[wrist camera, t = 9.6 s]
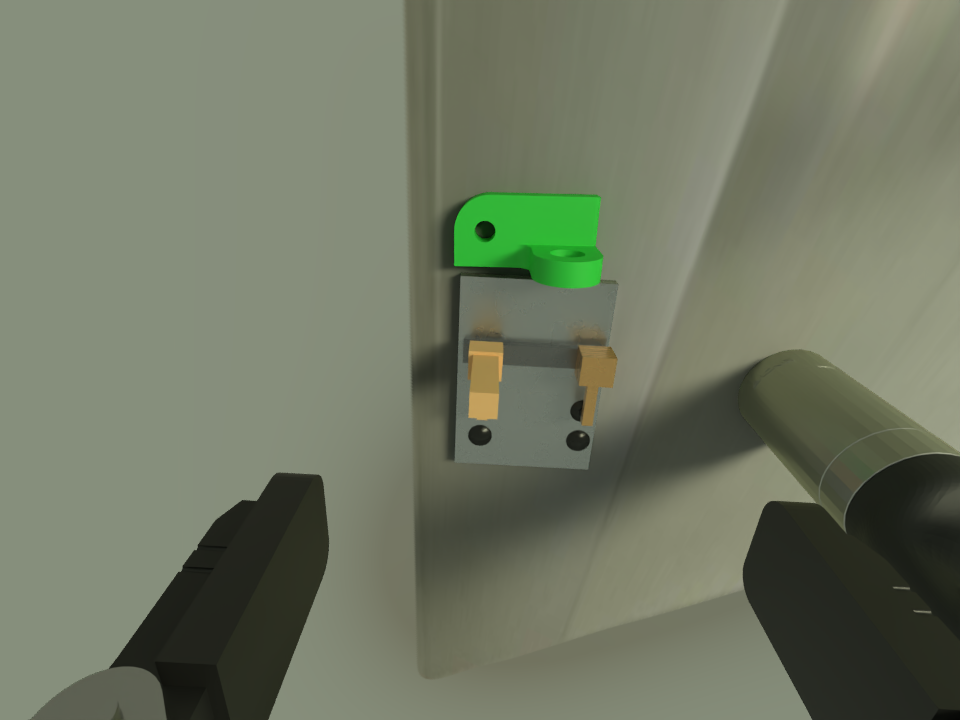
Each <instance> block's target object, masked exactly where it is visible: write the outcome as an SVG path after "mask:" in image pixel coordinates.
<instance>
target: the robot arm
mask: <svg viewBox="0 0 960 720" xmlns="http://www.w3.org/2000/svg"><path fill="white" fill-rule="evenodd" d="M738 405H739V410H740V412H741V414H742V416H743V418H744V419H745V420H746V421H747V422H748V423H749V425H750V426H751V427H752V428H753V429H754V430H755V432H756V433H757V434H758V435H759V436H760V437H761V439H762V440H763V441H764V442H765V444H766V445H767V446H768V447H769V448H770V449H771V451H772V452H773V453H774V454H775V455H776V456H777V458H778V459H779V460H780V461H781V462H782V463H783V465H784V466H785V467H786V468H787V469H788V470H789V471H790V473H791V474H792V475H793V476H794V477H795V478H796V480H797V481H798V482H799V483H800V484H801V485H802V487H803V488H804V489H805V490H806V491H807V492H808V494H809V495H810V496H811V497H812V498H813V499H814V501H815V502H816V503H817V504H816V503H803V502H784V501H770V502H768V503H767V504H766V505H765V507H764V509H763V511H762V514H761V516H760V519H759V522H758V525H757V528H756V531H755V534H754V536H753V539H752V542H751V545H750V548H749V551H748V554H747V557H746V559H745V562H744V567H743V583H744V589H745V592H746V595H747V598H748V600H749V603H750V604H751V606H752V608H753V610H754V612H755V614H756V615H757V617H758V619H759V621H760V623H761V625H762V627H763V628H764V630H765V632H766V634H767V636H768V638H769V640H770V642H771V643H772V645H773V647H774V649H775V651H776V653H777V655H778V657H779V658H780V660H781V662H782V664H783V665H784V667H785V670H786V671H787V673H788V675H789V677H790V679H791V681H792V683H793V684H794V686H795V688H796V690H797V691H798V694H799V695H800V697H801V699H802V701H803V703H804V705H805V706H806V708H807V710H808V712H809V714H810V716H811V718H812V720H960V452H958V451H957V450H956V449H954V448H953V447H951V446H950V445H948V444H947V443H945V442H944V441H943V440H941V439H940V438H938V437H936V436H935V435H934V434H932V433H931V432H929V431H928V430H926V429H925V428H924V427H922V426H921V425H919V424H918V423H916V422H915V421H913V420H912V419H911V418H909V417H908V416H906V415H905V414H903V413H902V412H901V411H899V410H898V409H896V408H895V407H893V406H892V405H890V404H889V403H888V402H886V401H885V400H883V399H882V398H880V397H879V396H878V395H876V394H875V393H873V392H872V391H870V390H869V389H867V388H866V387H865V386H863V385H862V384H860V383H859V382H857V381H856V380H855V379H853V378H852V377H850V376H849V375H848V374H846V373H845V372H843V371H842V370H840V369H839V368H837V367H836V366H835V365H833V364H832V363H830V362H829V361H827V360H826V359H824V358H823V357H822V356H820V355H818V354H816V353H814V352H811V351H806V350H787V351H782V352H779V353H776V354H774V355H771V356H769V357H767V358H766V359H764V360H762V361H761V362H759V363H758V364H757V365H756V366H755V367H753V368H752V369H751V370H750V372H749V373H748V374H747V375H746V377H745V378H744V380H743V382H742V384H741V386H740V390H739V393H738ZM328 551H329V536H328V526H327V516H326V506H325V496H324V486H323V481H322V478H321V476H320V475H313V474H295V473H276V474H275V475H274V476H273V477H272V478H271V480H270V482H269V483H268V485H267V486H266V488H265V489H264V491H263V492H262V494H261V496H260V497H259V499H258V500H257V501H246V500H242V501H241V502H239V503H238V504H236V505H235V506H234V507H233V508H231V509H230V510H228V511H227V512H226V513H225V514H223V515H222V516H221V517H220V518H218V519H217V520H216V521H215V522H214V523H213V524H212V526H211V527H210V529H209V530H208V532H207V533H206V534H205V536H204V537H203V539H202V540H201V541H200V543H199V544H198V548H197V550H194V551H193V553H192V554H191V555H190V557H189V558H188V560H187V561H186V562H185V564H184V565H183V569H182V571H181V572H178V573H177V575H176V576H175V578H174V579H173V581H172V582H171V583H170V585H169V586H168V587H167V589H166V590H165V592H164V593H163V594H162V596H161V597H160V599H159V600H158V601H157V603H156V604H155V606H154V607H153V608H152V610H151V611H150V613H149V614H148V615H147V617H146V619H145V620H144V621H143V623H142V624H141V625H140V627H139V628H138V630H137V631H136V632H135V634H134V635H133V637H132V638H131V639H130V641H129V642H128V644H127V645H126V646H125V648H124V649H123V650H122V652H121V653H120V655H119V656H118V657H117V659H116V660H115V661H114V663H113V664H112V665H111V666H110V668H109V669H107V670H103V671H100V672H97V673H94V674H92V675H89V676H87V677H85V678H83V679H81V680H79V681H77V682H75V683H74V684H72V685H71V686H69V687H67V688H66V689H64V690H63V691H61V692H60V693H59V694H57V695H56V696H55V697H53V698H52V699H51V700H50V701H49V702H48V703H46V704H45V705H44V706H43V707H42V708H41V709H40V710H39V711H38V712H37V713H36V714H35V715H34V716H33V717H32V718H31V719H30V720H268V719H269V716H270V714H271V711H272V708H273V706H274V703H275V701H276V698H277V695H278V693H279V690H280V688H281V685H282V682H283V680H284V677H285V674H286V672H287V669H288V667H289V664H290V661H291V658H292V656H293V654H294V651H295V649H296V646H297V643H298V641H299V638H300V635H301V633H302V630H303V628H304V625H305V622H306V620H307V617H308V615H309V612H310V609H311V607H312V604H313V602H314V599H315V596H316V594H317V591H318V589H319V586H320V583H321V581H322V578H323V575H324V572H325V569H326V564H327V559H328Z"/></svg>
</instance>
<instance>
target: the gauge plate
mask: <svg viewBox="0 0 960 720" xmlns="http://www.w3.org/2000/svg"><path fill="white" fill-rule="evenodd" d="M617 290H618V283H617V282H616V281H613V280H600V283H599V284H597V285H595V286H592V287H587V288H558V287H552V286H547V285H543V284H540V283H537V282H535V281H534V280H533V279H532V278H531V276H518V275H499V274H480V273H461V278H460V310H459V341H458V373H457V404H456V436H455V462H458V463H476V464H494V465H513V466H531V467H549V468H568V469H586V470H588V467H589V461H590V455H591V449H592V442H593V436H594V430H595V424H596V418H597V412H598V406H599V400H600V394H601V387H608V388H613V382H614V376H615V371H616V365H617V357H616V355H615V353H614V351H613V350H612V348H611V347H608V345H609V339H610V332H611V326H612V320H613V314H614V308H615V302H616V296H617ZM470 341H487V342H503V365H502V378H501V382H499V403H498V417H497V419H487V420H477V418H468V417H469V394H470V383H471V380H468V357H469V345H470Z"/></svg>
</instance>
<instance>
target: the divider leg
mask: <svg viewBox="0 0 960 720" xmlns="http://www.w3.org/2000/svg"><path fill="white" fill-rule="evenodd" d="M502 365H503V342H487V341H470V345H469V357H468V380H471V383H470V394H469V417H468V418H477V420H487V419H497V417H498V403H499V382H501V378H502Z"/></svg>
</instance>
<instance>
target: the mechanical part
mask: <svg viewBox="0 0 960 720" xmlns="http://www.w3.org/2000/svg"><path fill="white" fill-rule="evenodd" d="M600 200H601V197H600V196H598V195H584V194H541V193H498V192H487V193H481V194H478V195H476V196H474V197H472V198H471V199H469V200H468V201H467V202H466V203H465V204H464V205H463V206H462V208H461V210H460V211H459V213H458V216H457V218H456V222H455V227H454V266H473V267H512V268H524V269H527V270H529V271H530V274H531V278H532V279H533V280H534V281H535V282H537V283H540V284H543V285H547V286H552V287H558V288H587V287H592V286H595V285H597V284H599V283H600V279H601V271H602V262H603V255H602V254H601V252H600V251H599V250H598V249H597V248H596V247H595V245H596V236H597V227H598V218H599V209H600ZM481 221H489V222H491V223H492V224H493V225H494V227H495V233H494V234H493V235H492V236H491V237H489V238H481V237H479V236H478V235H477V233H476V231H475V227H476V225H477V224H478V223H479V222H481Z"/></svg>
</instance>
